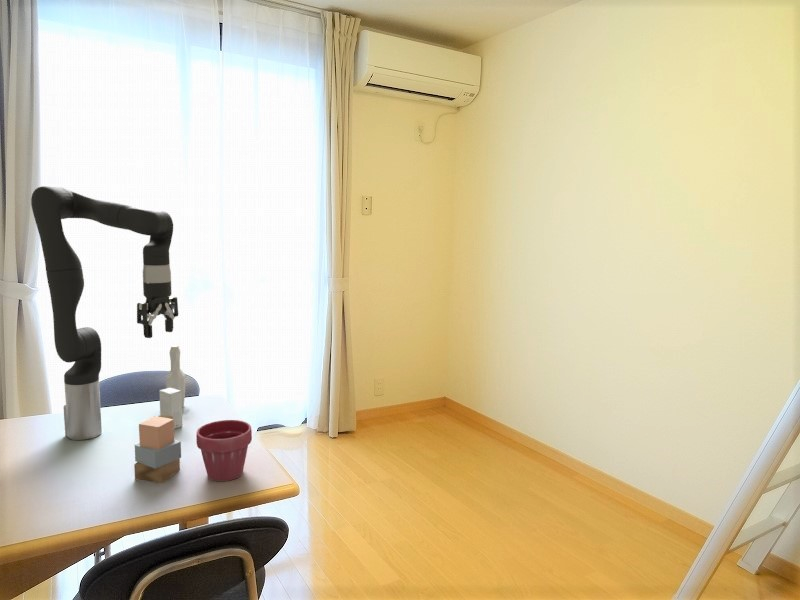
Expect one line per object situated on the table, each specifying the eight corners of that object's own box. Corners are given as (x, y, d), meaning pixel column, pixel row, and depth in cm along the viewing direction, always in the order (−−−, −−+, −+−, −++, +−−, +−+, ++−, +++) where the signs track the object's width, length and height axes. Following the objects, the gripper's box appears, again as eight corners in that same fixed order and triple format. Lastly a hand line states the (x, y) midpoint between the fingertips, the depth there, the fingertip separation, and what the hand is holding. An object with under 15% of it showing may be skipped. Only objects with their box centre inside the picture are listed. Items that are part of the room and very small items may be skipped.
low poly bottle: (163, 408, 201) (161, 347, 197) (173, 402, 207) (171, 343, 203) (180, 410, 200) (178, 349, 196) (189, 404, 206) (187, 344, 202)
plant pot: (195, 466, 157) (194, 422, 155) (247, 459, 163) (246, 416, 161) (199, 490, 145) (198, 442, 143) (256, 481, 150) (255, 435, 148)
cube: (139, 445, 149) (138, 423, 148) (155, 437, 155) (154, 416, 154) (159, 449, 147) (158, 427, 146) (174, 440, 153) (173, 419, 152)
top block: (135, 461, 150) (134, 444, 149) (161, 450, 157) (160, 435, 156) (155, 468, 146) (154, 452, 146) (181, 457, 153) (180, 441, 152)
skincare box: (183, 426, 186) (182, 390, 184) (171, 430, 182) (170, 394, 180) (171, 421, 189) (170, 387, 187) (159, 425, 185) (158, 390, 184)
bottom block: (135, 480, 149) (134, 464, 148) (153, 467, 157) (152, 451, 156) (163, 483, 148) (162, 467, 147) (179, 470, 156) (179, 454, 155)
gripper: (163, 276, 173) (165, 329, 176) (128, 281, 160) (130, 338, 163) (184, 278, 171) (185, 331, 174) (149, 283, 158) (151, 341, 160)
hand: (159, 334), depth 168 cm, fingers open, 8 cm apart
